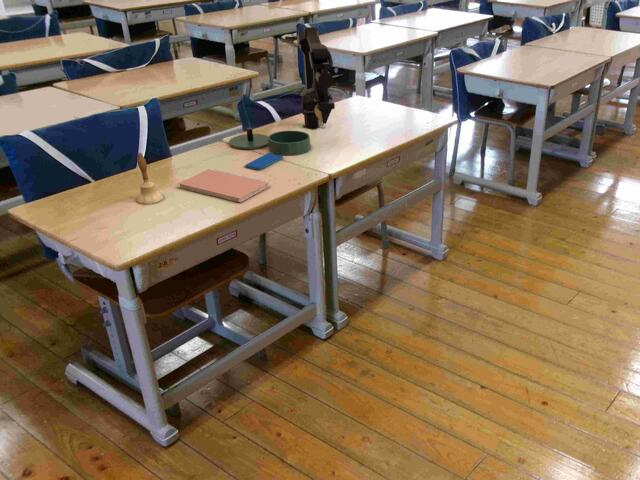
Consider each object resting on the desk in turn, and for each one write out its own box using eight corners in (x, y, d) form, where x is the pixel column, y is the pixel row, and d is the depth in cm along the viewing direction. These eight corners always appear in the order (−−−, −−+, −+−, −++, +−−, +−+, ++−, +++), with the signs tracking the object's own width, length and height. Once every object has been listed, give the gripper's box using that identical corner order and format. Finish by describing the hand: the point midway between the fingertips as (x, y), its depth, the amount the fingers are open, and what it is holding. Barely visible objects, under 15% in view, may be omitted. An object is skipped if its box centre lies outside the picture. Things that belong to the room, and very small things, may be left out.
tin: (266, 144, 262) (265, 132, 259) (305, 140, 266) (304, 129, 264) (272, 157, 249) (271, 145, 246) (313, 153, 253) (312, 141, 251)
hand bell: (148, 206, 208) (138, 159, 200) (132, 200, 212) (121, 154, 203) (168, 197, 214) (159, 152, 206) (152, 192, 218) (142, 147, 209)
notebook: (271, 186, 224) (270, 180, 223) (240, 203, 211) (239, 197, 210) (211, 172, 234) (210, 167, 233) (178, 187, 222) (177, 182, 220)
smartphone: (244, 165, 239) (268, 152, 250) (244, 167, 239) (269, 154, 250) (259, 168, 236) (283, 155, 247) (260, 171, 236) (284, 158, 248)
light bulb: (313, 126, 259) (312, 101, 253) (328, 124, 261) (327, 100, 255) (318, 130, 254) (316, 105, 248) (333, 129, 256) (332, 104, 250)
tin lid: (227, 138, 267) (225, 124, 264) (268, 135, 272) (267, 120, 269) (231, 152, 254) (229, 136, 250) (275, 148, 258) (273, 133, 255)
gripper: (296, 77, 253) (299, 116, 261) (305, 89, 238) (307, 129, 246) (323, 75, 256) (325, 114, 264) (334, 87, 241) (335, 127, 249)
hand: (323, 121), depth 256 cm, fingers closed on light bulb, 6 cm apart
